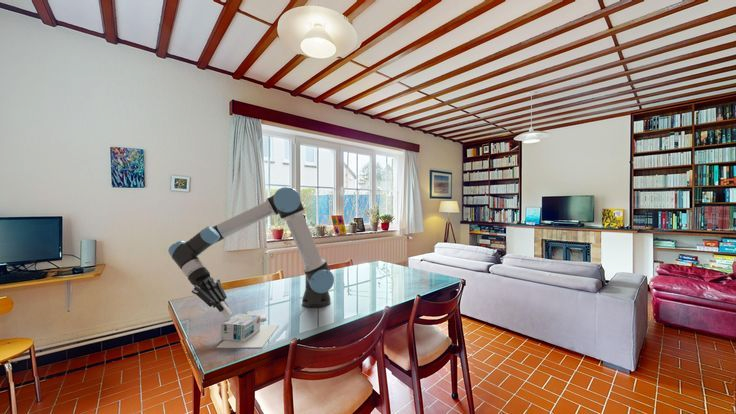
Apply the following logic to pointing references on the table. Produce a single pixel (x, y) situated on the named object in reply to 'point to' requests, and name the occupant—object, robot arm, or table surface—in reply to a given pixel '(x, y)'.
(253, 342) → the felt mat
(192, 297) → the table surface
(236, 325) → the light bulb box
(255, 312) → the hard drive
